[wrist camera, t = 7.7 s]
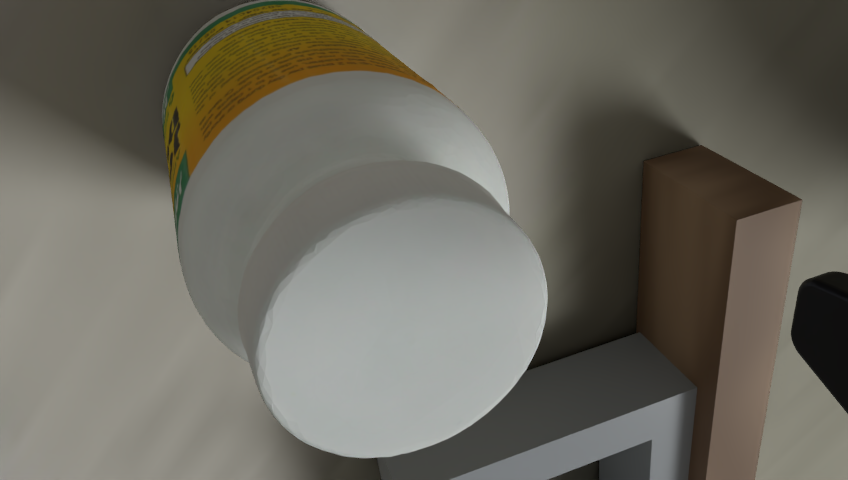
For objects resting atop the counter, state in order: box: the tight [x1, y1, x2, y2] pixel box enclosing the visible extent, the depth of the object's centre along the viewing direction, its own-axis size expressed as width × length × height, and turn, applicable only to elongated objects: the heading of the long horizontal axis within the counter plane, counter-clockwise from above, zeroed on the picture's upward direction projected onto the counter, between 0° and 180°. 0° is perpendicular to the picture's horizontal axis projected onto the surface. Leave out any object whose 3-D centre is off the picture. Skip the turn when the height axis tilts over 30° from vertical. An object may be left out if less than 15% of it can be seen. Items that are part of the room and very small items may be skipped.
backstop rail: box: [636, 145, 802, 480], centre depth 26 cm, size 2×22×4 cm, turn 7°
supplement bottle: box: [162, 0, 548, 458], centre depth 13 cm, size 5×5×10 cm
